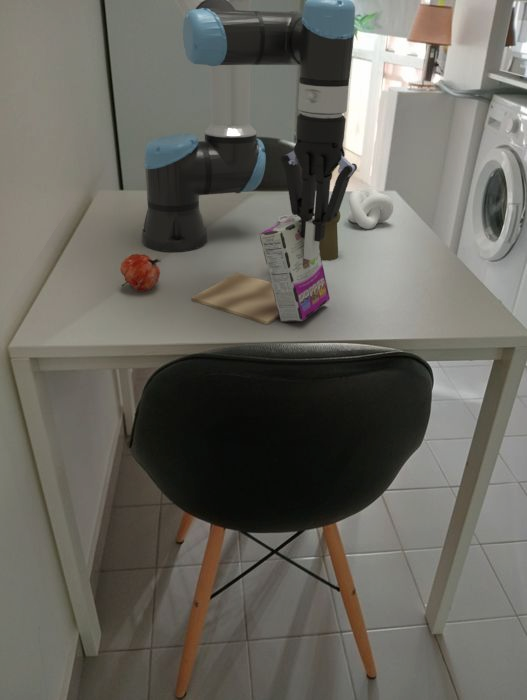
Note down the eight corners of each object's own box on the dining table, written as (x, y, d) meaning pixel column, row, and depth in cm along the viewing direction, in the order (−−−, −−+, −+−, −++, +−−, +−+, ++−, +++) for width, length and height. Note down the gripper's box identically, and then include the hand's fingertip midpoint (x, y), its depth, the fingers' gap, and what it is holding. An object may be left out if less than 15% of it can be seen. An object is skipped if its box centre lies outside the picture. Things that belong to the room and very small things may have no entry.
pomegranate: (121, 305, 117) (157, 282, 113) (100, 273, 116) (136, 248, 112) (141, 295, 124) (176, 272, 119) (122, 264, 123) (156, 240, 118)
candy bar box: (307, 301, 117) (290, 216, 111) (330, 300, 114) (314, 213, 108) (278, 322, 108) (257, 232, 103) (302, 322, 106) (282, 229, 100)
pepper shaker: (337, 261, 135) (341, 213, 129) (310, 258, 136) (313, 210, 130) (339, 252, 140) (344, 205, 135) (313, 249, 141) (317, 202, 135)
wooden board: (191, 300, 115) (191, 297, 115) (236, 275, 126) (236, 272, 126) (267, 324, 107) (267, 321, 107) (308, 295, 119) (308, 293, 118)
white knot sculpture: (372, 235, 151) (377, 200, 146) (332, 224, 158) (335, 190, 153) (395, 225, 159) (400, 191, 154) (356, 215, 165) (360, 182, 161)
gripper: (273, 111, 94) (267, 255, 106) (349, 122, 88) (334, 272, 100) (297, 106, 100) (289, 243, 112) (370, 115, 94) (354, 259, 106)
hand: (310, 257), depth 106 cm, fingers closed
